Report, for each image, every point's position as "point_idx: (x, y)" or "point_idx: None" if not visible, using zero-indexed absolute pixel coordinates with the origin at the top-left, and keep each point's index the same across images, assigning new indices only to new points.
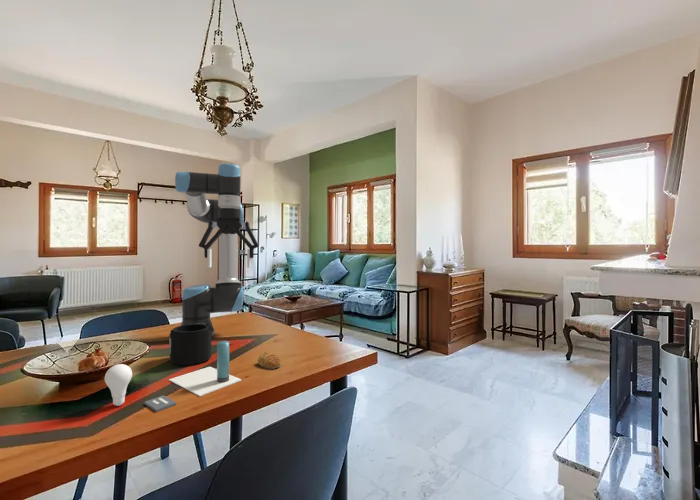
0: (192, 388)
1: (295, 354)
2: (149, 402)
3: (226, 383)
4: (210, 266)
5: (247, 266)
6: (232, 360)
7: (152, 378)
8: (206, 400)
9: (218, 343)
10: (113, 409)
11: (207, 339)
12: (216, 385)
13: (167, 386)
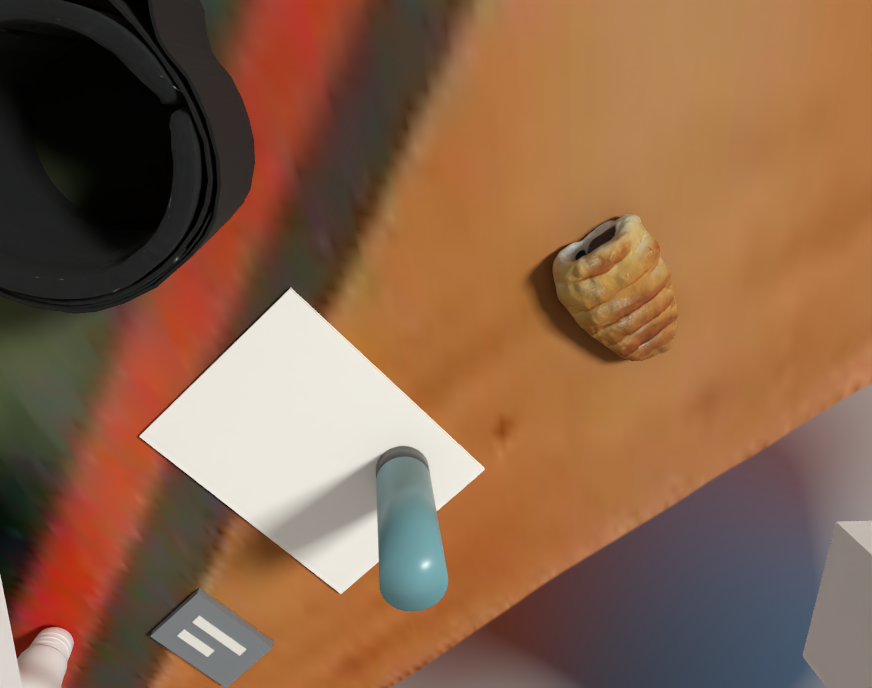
0: (289, 535)
1: (775, 127)
2: (172, 642)
3: None
4: (3, 647)
5: (820, 675)
6: (396, 187)
7: (43, 403)
8: (375, 619)
9: (389, 597)
10: None
11: (223, 218)
12: None
13: (166, 495)
